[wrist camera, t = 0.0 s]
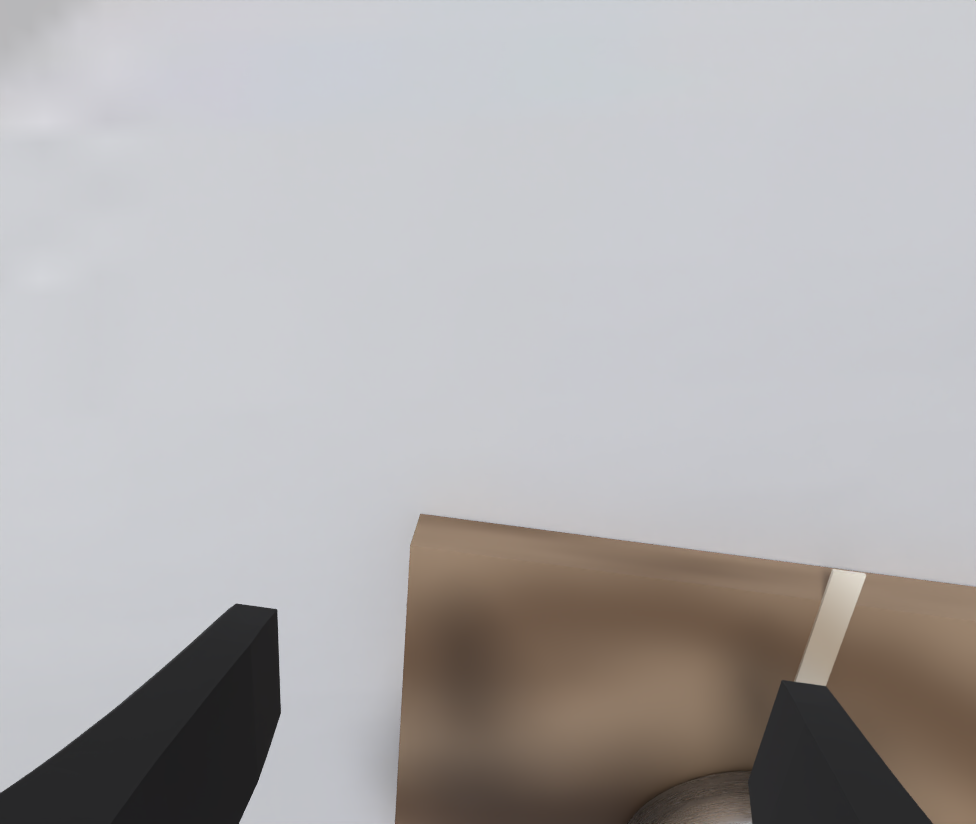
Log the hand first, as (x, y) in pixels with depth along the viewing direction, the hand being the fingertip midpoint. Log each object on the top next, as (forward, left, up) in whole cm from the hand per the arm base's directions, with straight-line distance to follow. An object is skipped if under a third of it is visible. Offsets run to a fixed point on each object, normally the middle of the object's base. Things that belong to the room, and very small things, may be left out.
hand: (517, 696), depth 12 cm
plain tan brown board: (-14, -8, -10) cm, 19 cm away
